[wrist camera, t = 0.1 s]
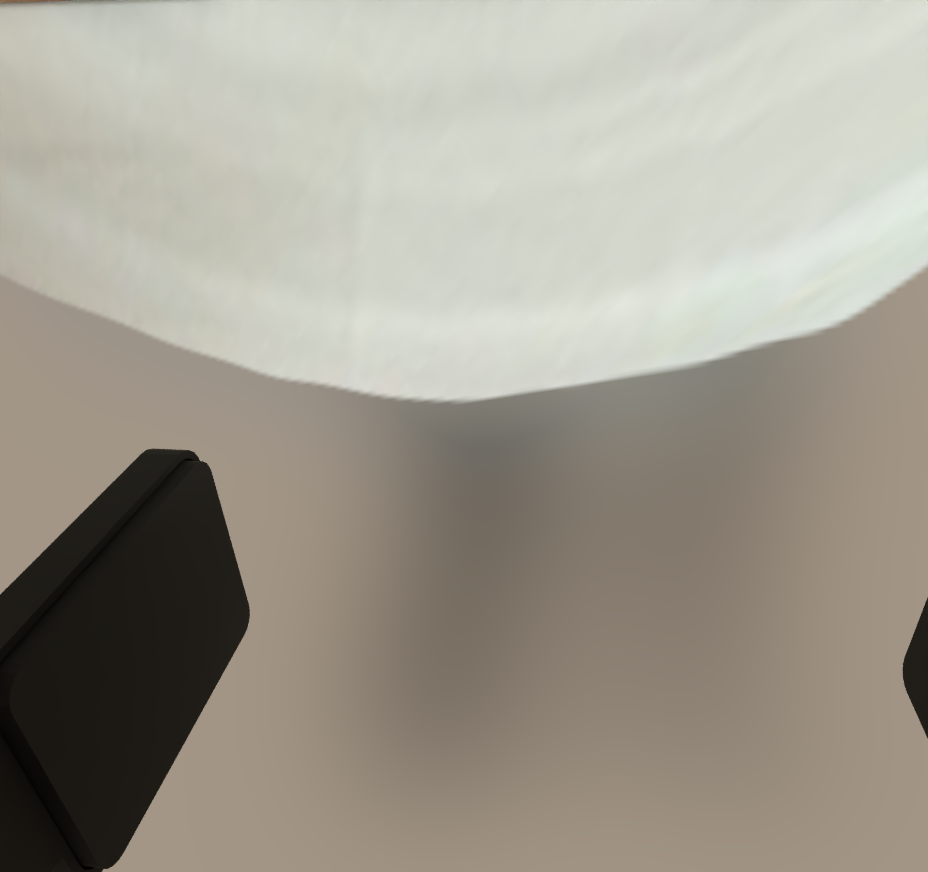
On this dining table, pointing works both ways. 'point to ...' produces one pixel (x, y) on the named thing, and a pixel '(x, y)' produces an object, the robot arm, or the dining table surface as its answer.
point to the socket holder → (10, 0)
